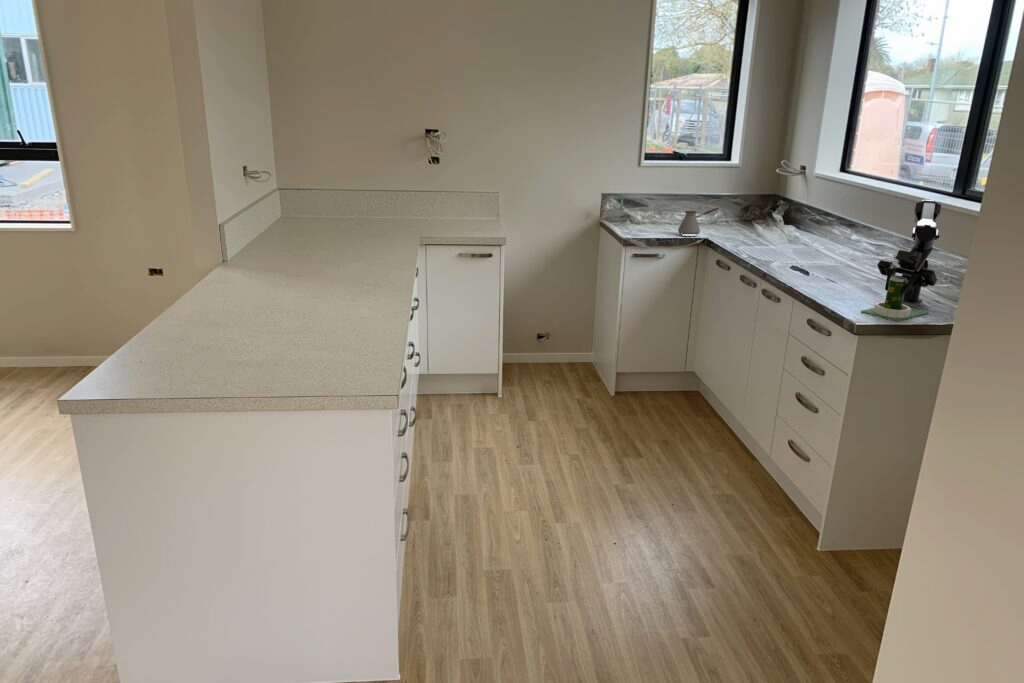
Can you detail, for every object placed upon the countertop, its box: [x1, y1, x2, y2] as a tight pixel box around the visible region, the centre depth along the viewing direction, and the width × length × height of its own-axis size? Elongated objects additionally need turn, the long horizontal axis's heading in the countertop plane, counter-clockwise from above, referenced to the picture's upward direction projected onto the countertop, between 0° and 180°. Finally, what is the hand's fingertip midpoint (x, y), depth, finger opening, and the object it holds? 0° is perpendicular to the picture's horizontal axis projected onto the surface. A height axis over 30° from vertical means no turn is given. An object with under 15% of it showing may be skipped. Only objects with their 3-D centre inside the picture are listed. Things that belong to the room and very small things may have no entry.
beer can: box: [884, 274, 907, 310], centre depth 249 cm, size 5×5×12 cm
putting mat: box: [860, 307, 929, 323], centre depth 253 cm, size 20×13×1 cm, turn 124°
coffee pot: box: [677, 207, 720, 235], centre depth 386 cm, size 21×12×15 cm, turn 99°
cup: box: [873, 301, 912, 318], centre depth 251 cm, size 11×11×2 cm
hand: (893, 291), depth 248 cm, fingers open, 5 cm apart
